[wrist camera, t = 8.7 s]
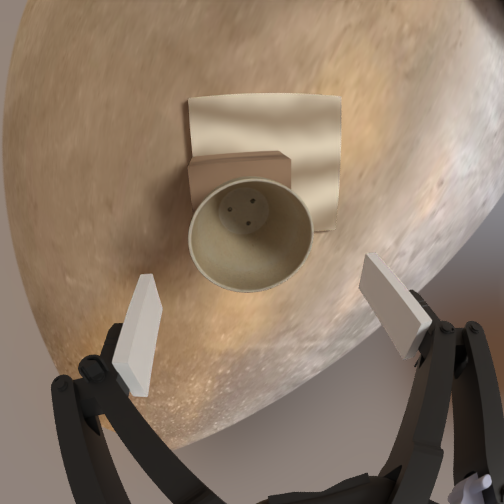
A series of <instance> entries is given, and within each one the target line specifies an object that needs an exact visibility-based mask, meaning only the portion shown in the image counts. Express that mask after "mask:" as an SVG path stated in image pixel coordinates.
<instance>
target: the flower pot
mask: <svg viewBox="0 0 504 504" xmlns="http://www.w3.org/2000/svg"><path fill="white" fill-rule="evenodd" d="M252 199H253V200H252ZM251 200H252V201H251ZM228 210H231V211H228ZM248 221H250V223H248ZM313 238H314V226H313V221H312V217H311V214H310V212H309V210H308V208H307V206H306V204H305V203H304V202H303V200H302V199H301V198H300V197H299V196H298V195H297V194H296V193H295V192H294V191H293V190H291V189H290V188H288V187H286V186H285V185H283V184H281V183H279V182H276V181H274V180H271V179H267V178H263V177H256V176H246V177H239V178H235V179H232V180H229V181H227V182H225V183H223V184H221V185H219V186H218V187H216V188H215V189H214V190H212V191H211V192H210V193H209V194H208V195H207V196H206V197H205V198H204V199H203V201H202V202H201V203H200V205H199V206H198V208H197V209H196V211H195V213H194V215H193V218H192V220H191V223H190V227H189V232H188V246H189V251H190V255H191V258H192V260H193V262H194V264H195V266H196V267H197V269H198V270H199V271H200V272H201V273H202V275H203V276H204V277H206V278H207V279H208V280H209V281H211V282H212V283H214V284H215V285H217V286H219V287H221V288H224V289H227V290H230V291H235V292H244V293H250V292H259V291H264V290H268V289H271V288H273V287H276V286H278V285H280V284H282V283H283V282H285V281H286V280H288V279H289V278H291V277H292V276H293V275H294V274H295V273H296V272H297V271H298V270H299V269H300V268H301V267H302V265H303V264H304V263H305V261H306V259H307V257H308V255H309V253H310V251H311V247H312V244H313Z"/></svg>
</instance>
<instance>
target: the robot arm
mask: <svg viewBox="0 0 504 504" xmlns="http://www.w3.org/2000/svg"><path fill="white" fill-rule="evenodd" d="M359 289H360V291H361V292H362V294H363V295H364V297H365V298H366V300H367V302H368V303H369V305H370V306H371V308H372V309H373V311H374V313H375V314H376V316H377V317H378V319H379V321H380V322H381V324H382V325H383V327H384V329H385V330H386V332H387V334H388V335H389V337H390V338H391V340H392V342H393V344H394V345H395V347H396V349H397V350H398V352H399V354H400V355H401V357H402V359H403V360H406V359H409V358H412V357H414V356H415V354H416V352H417V351H418V350H419V351H420V353H421V355H420V357H419V359H418V360H417V362H416V364H415V366H414V367H416V366H417V369H416V374H415V378H414V382H413V386H412V389H411V393H410V397H409V400H408V404H407V408H406V411H405V414H404V417H403V420H402V423H401V426H400V429H399V432H398V435H397V438H396V441H395V443H394V446H393V448H392V451H391V453H390V456H389V458H388V460H387V462H386V464H385V466H384V467H383V468H382V470H381V471H380V473H379V475H378V476H368V473H365V474H362V475H359V476H356V477H353V478H349V479H346V480H344V481H342V482H340V483H338V484H336V485H334V486H333V487H331V488H329V489H327V490H325V491H322V492H291V493H285V494H279V495H271V496H268V499H266V500H263V501H261V502H259V503H257V504H438V503H436V502H434V501H432V500H430V499H429V498H430V496H431V493H432V490H433V488H434V485H435V482H436V479H437V476H438V472H439V469H440V466H441V462H442V459H443V454H444V451H443V449H441V447H440V446H441V441H442V437H443V432H444V428H445V423H446V419H447V413H448V408H449V402H450V396H451V391H452V403H453V418H454V467H453V470H454V471H453V475H454V476H453V477H454V486H455V487H454V488H453V490H452V492H451V493H450V494H449V496H448V502H449V503H450V504H504V418H503V410H502V403H501V397H500V392H499V387H498V382H497V377H496V373H495V369H494V365H493V361H492V357H491V354H490V350H489V346H488V343H487V340H486V337H485V334H484V330H483V328H482V326H480V324H478V323H477V322H474V321H469V322H467V323H466V325H465V327H464V328H454V326H453V325H452V324H451V323H449V322H447V321H440V319H439V318H438V317H437V316H436V314H435V313H434V312H433V311H432V309H431V308H430V307H429V306H428V305H427V303H426V302H425V301H424V299H423V298H422V297H421V296H420V295H419V294H418V293H417V292H415V291H414V290H408V289H407V288H406V287H405V286H404V284H403V283H402V282H401V281H400V280H399V278H398V277H397V276H396V275H395V274H394V272H393V271H392V270H391V269H390V268H389V267H388V266H387V264H386V263H385V262H384V261H383V260H382V259H381V258H380V257H379V255H378V254H377V253H376V252H372V253H366V254H365V259H364V264H363V269H362V274H361V279H360V284H359ZM162 309H163V308H162V305H161V302H160V298H159V295H158V292H157V288H156V285H155V281H154V277H153V274H141V275H140V277H139V280H138V283H137V285H136V288H135V291H134V294H133V296H132V299H131V302H130V305H129V308H128V311H127V314H126V317H125V320H124V323H114V325H113V326H112V327H111V328H110V329H109V331H108V334H107V337H106V339H105V342H104V345H103V348H102V351H101V354H100V356H98V355H89V356H86V357H85V358H84V359H82V360H81V362H80V363H79V367H78V370H79V373H80V374H81V376H82V377H83V378H80V379H76V380H72V378H71V377H69V376H68V375H60V376H58V377H56V378H55V379H54V381H53V382H52V384H51V393H52V402H53V410H54V417H55V424H56V430H57V435H58V440H59V445H60V449H61V454H62V458H63V462H64V467H65V470H66V474H67V477H68V481H69V484H70V487H71V491H72V494H73V497H74V499H75V502H76V504H131V503H130V500H129V498H128V496H127V494H126V492H125V490H124V487H123V485H122V483H121V480H120V478H119V476H118V473H117V470H116V468H115V465H114V463H113V460H112V457H111V455H110V452H109V449H108V446H107V443H106V440H105V437H104V434H103V430H102V427H101V424H100V420H99V417H98V415H102V414H105V416H106V417H107V419H108V420H109V422H110V424H111V425H112V427H113V428H114V430H115V431H116V433H117V434H118V436H119V437H120V439H121V440H122V442H123V443H124V444H125V446H126V447H127V449H128V450H129V451H130V453H131V454H132V455H133V457H134V458H135V459H136V461H137V462H138V463H139V465H140V466H141V467H142V468H143V470H144V471H145V472H146V473H147V475H148V476H149V477H150V478H151V479H152V481H153V482H154V483H155V484H156V485H157V486H158V488H159V489H160V490H161V491H162V492H163V493H164V494H165V495H166V496H167V498H168V499H169V500H170V501H171V502H172V503H173V504H226V503H225V502H224V501H223V500H222V499H220V498H219V497H218V496H217V495H216V494H215V493H213V492H212V491H211V490H210V489H209V488H208V487H207V486H206V485H205V484H204V483H203V482H201V481H200V480H199V479H198V478H197V477H196V476H195V475H194V474H193V473H192V472H191V471H190V470H189V469H188V468H187V467H186V466H185V465H184V464H183V463H182V462H181V461H180V460H179V459H178V457H177V456H176V455H175V454H174V453H173V452H172V451H171V450H170V449H169V448H168V447H167V445H166V444H165V443H164V442H163V441H162V440H161V439H160V437H159V436H158V435H157V434H156V433H155V431H154V430H153V429H152V428H151V427H150V425H149V424H148V423H147V422H146V420H145V419H144V418H143V416H142V415H141V414H140V413H139V411H138V410H137V409H136V407H135V406H134V405H133V403H132V402H131V400H130V399H129V398H128V396H129V390H130V392H131V393H132V395H133V396H140V397H148V391H149V384H150V377H151V371H152V364H153V358H154V352H155V346H156V341H157V335H158V330H159V325H160V319H161V314H162ZM417 364H418V365H417Z"/></svg>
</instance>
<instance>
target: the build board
mask: <svg viewBox="0 0 504 504" xmlns="http://www.w3.org/2000/svg"><path fill="white" fill-rule="evenodd" d="M188 106H189V120H190V132H191V143H192V154H193V157H195V156H204V155H215V154H226V153H239V152H256V151H280V152H281V153H283V154H284V155H286V156H287V157H289V158H290V159H291V190H293V191H294V192H295V193H296V194H297V195H298V196H299V197H300V198H301V199H302V200H303V202H304V203H305V204H306V206H307V208H308V210H309V212H310V214H311V217H312V221H313V226H314V231H326V230H336V221H337V209H338V196H339V180H340V159H341V96H331V95H318V94H298V93H250V94H229V95H216V96H205V97H195V98H188Z"/></svg>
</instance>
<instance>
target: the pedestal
mask: <svg viewBox="0 0 504 504" xmlns="http://www.w3.org/2000/svg"><path fill="white" fill-rule="evenodd" d="M187 168H188V177H189V185H190V194H191V202H192V210H193V215H194V213H195V211H196V209H197V208H198V206H199V205H200V203H201V202H202V201H203V199H204V198H205V197H206V196H207V195H208V194H209V193H210V192H211V191H212V190H214V189H215V188H216V187H218V186H219V185H221V184H223V183H225V182H227V181H229V180H232V179H235V178H239V177H246V176H256V177H263V178H267V179H271V180H274V181H276V182H279V183H281V184H283V185H285V186H286V187H288V188H290V189H291V159H290V158H289V157H287V156H286V155H284V154H283V153H281V152H280V151H256V152H239V153H226V154H215V155H204V156H195V157H192V159H191V161H190V163H189V165H188V167H187ZM252 200H253V199H252ZM252 200H251V201H252ZM228 211H231V210H228ZM248 223H250V221H248Z"/></svg>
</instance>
